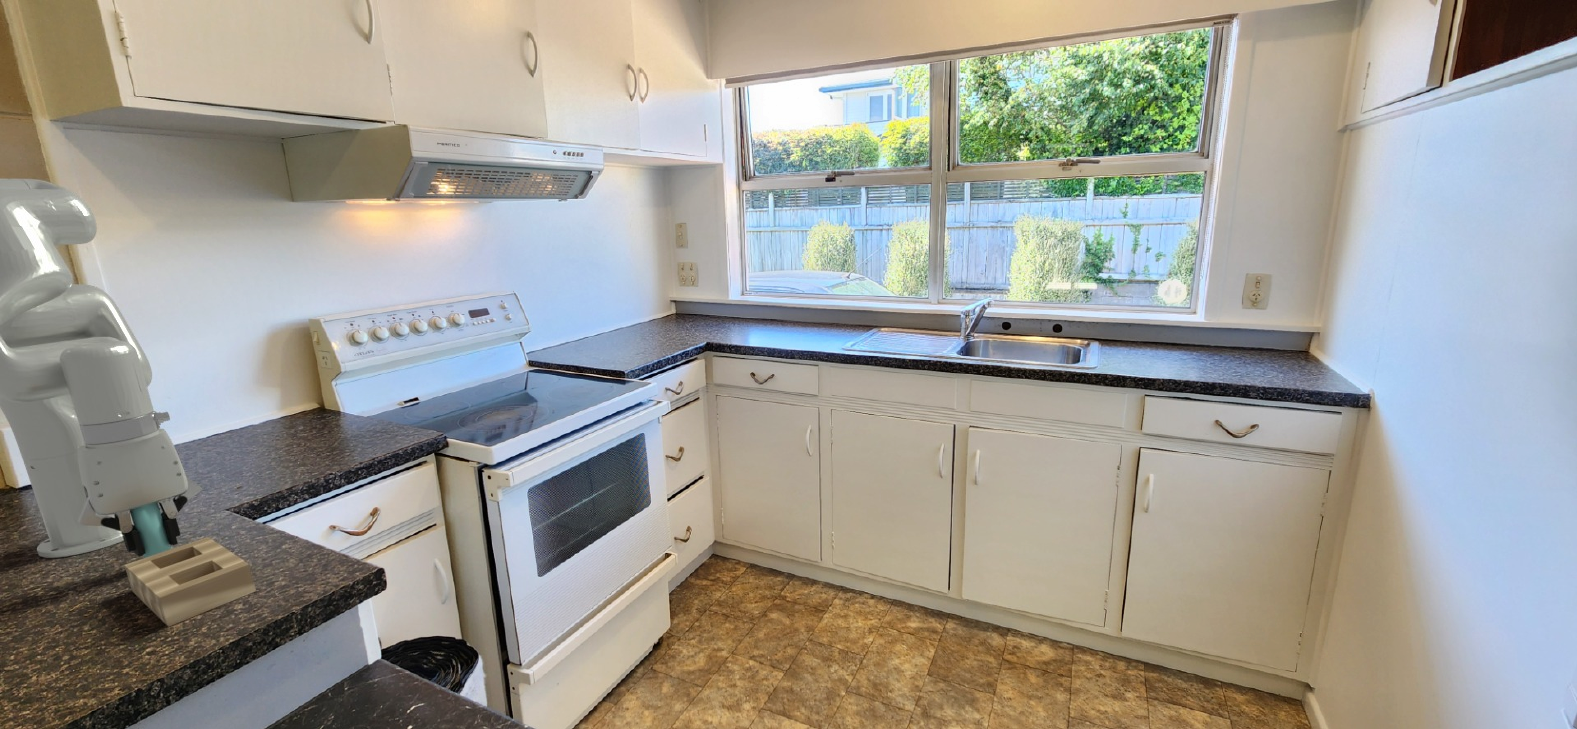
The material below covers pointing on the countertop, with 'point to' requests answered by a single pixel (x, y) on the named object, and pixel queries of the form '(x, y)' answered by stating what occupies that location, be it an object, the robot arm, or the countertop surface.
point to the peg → (150, 529)
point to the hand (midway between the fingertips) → (155, 547)
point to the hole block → (190, 580)
